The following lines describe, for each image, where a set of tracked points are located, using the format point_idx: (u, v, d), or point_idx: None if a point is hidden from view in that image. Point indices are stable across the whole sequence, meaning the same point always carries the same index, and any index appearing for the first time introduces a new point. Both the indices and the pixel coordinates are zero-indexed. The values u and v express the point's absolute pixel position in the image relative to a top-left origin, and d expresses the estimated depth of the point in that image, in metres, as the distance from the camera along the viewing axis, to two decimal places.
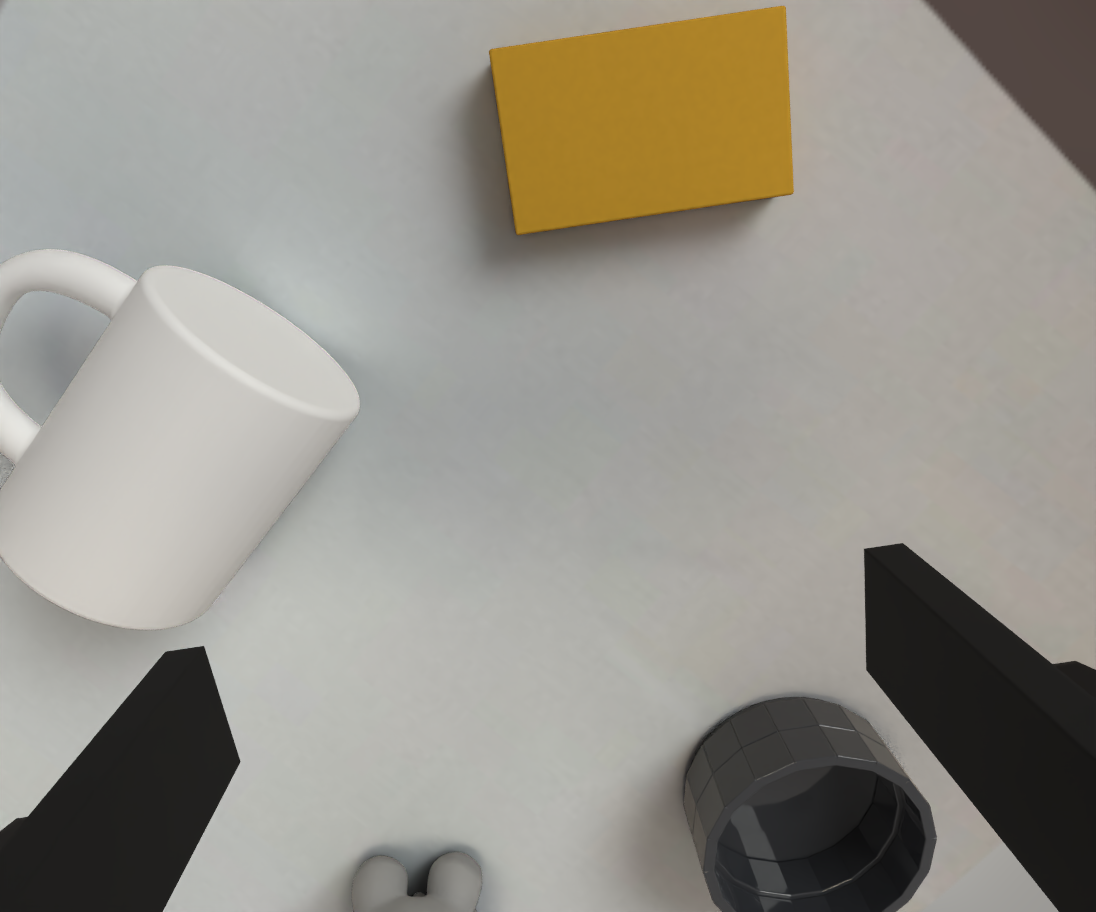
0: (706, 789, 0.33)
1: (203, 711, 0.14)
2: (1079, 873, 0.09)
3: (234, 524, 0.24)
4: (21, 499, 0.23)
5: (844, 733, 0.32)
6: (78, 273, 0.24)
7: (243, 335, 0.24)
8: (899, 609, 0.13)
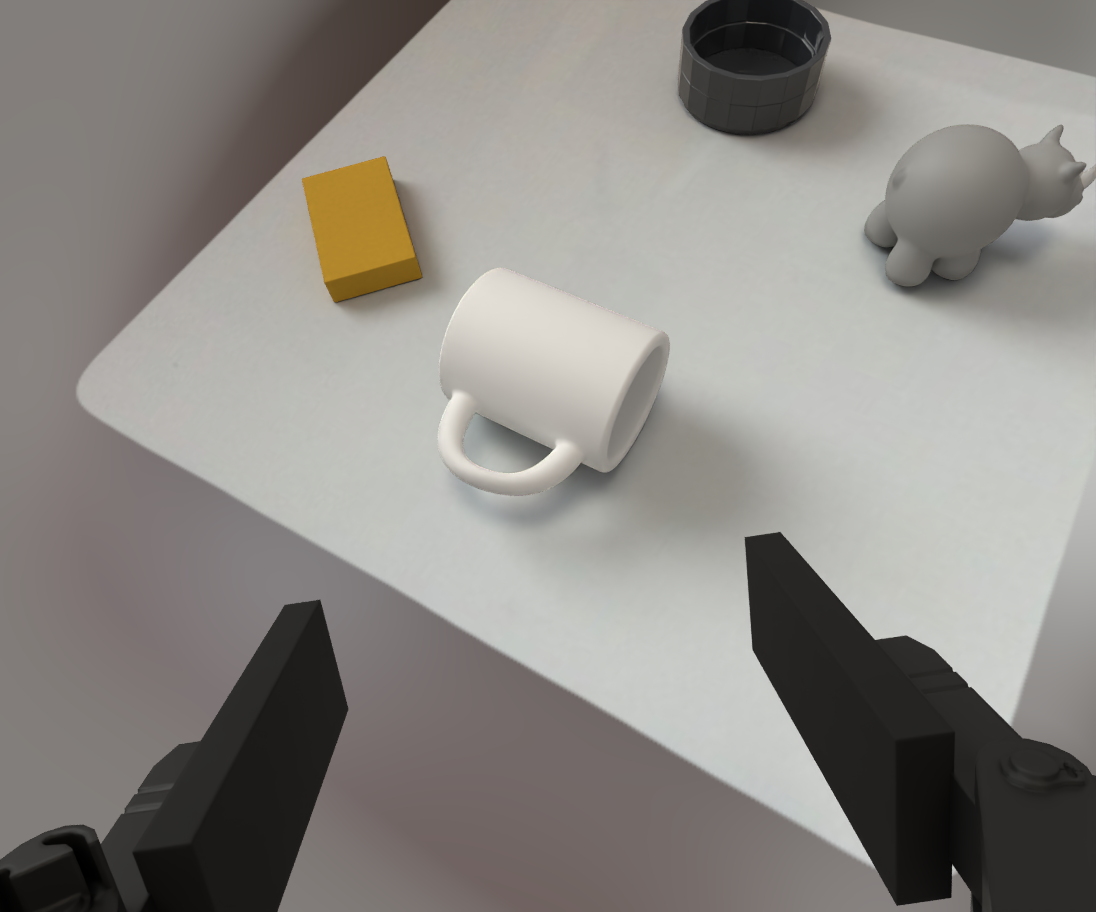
0: (742, 103, 0.51)
1: (322, 658, 0.15)
2: (876, 817, 0.10)
3: (579, 298, 0.39)
4: (578, 393, 0.36)
5: (680, 56, 0.54)
6: (447, 417, 0.39)
7: None
8: (767, 591, 0.14)
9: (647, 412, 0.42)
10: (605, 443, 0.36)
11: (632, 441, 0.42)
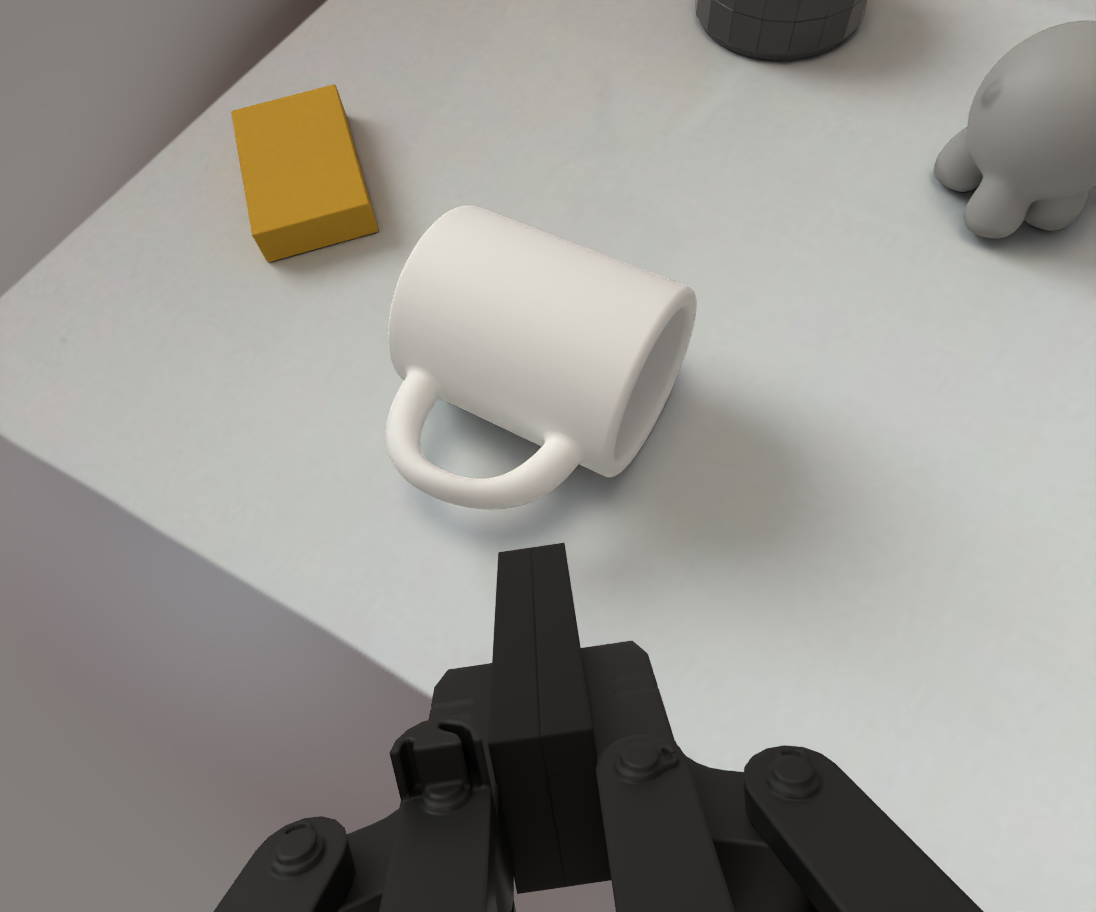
0: (777, 18, 0.41)
1: None
2: None
3: (576, 244, 0.30)
4: (575, 369, 0.26)
5: None
6: (398, 403, 0.29)
7: None
8: None
9: (665, 398, 0.32)
10: (612, 438, 0.27)
11: (645, 436, 0.32)
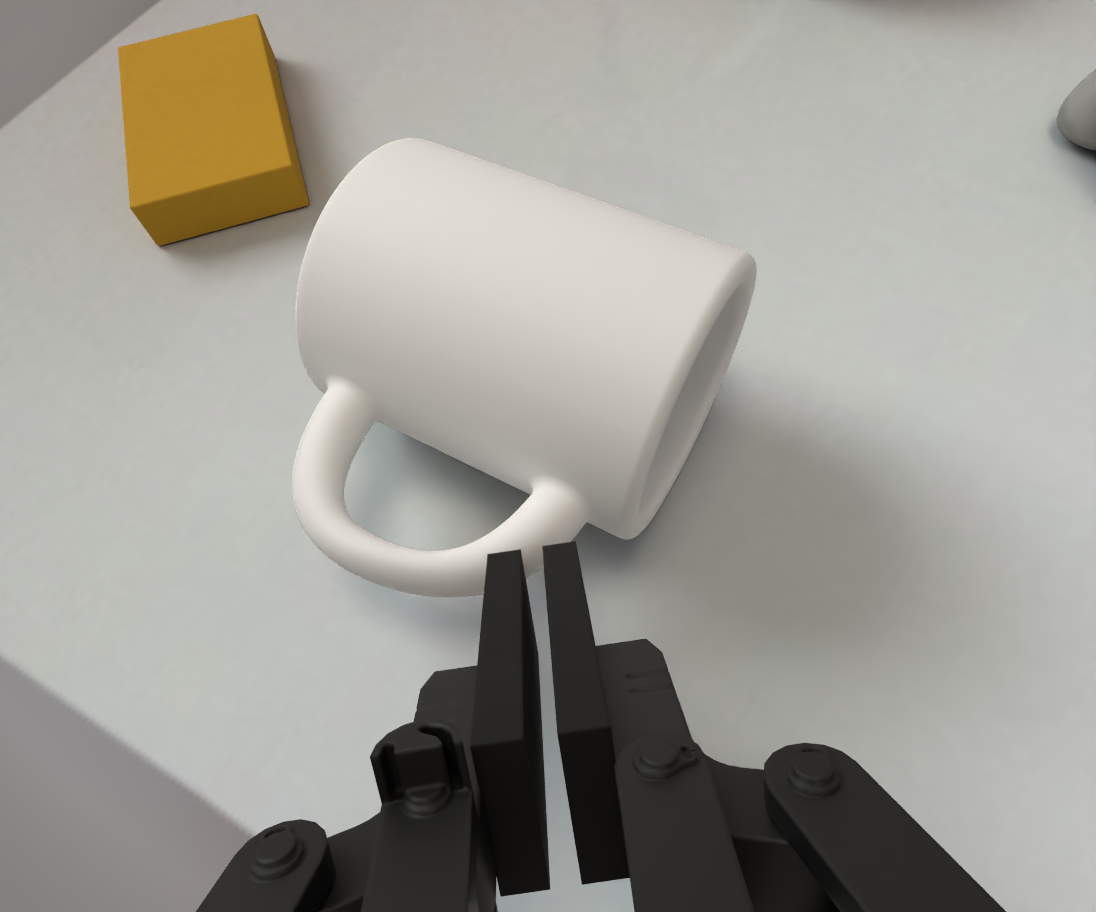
0: None
1: (527, 603, 0.16)
2: None
3: None
4: (579, 381, 0.16)
5: None
6: (310, 432, 0.19)
7: None
8: None
9: (703, 418, 0.23)
10: (638, 488, 0.17)
11: (677, 472, 0.22)
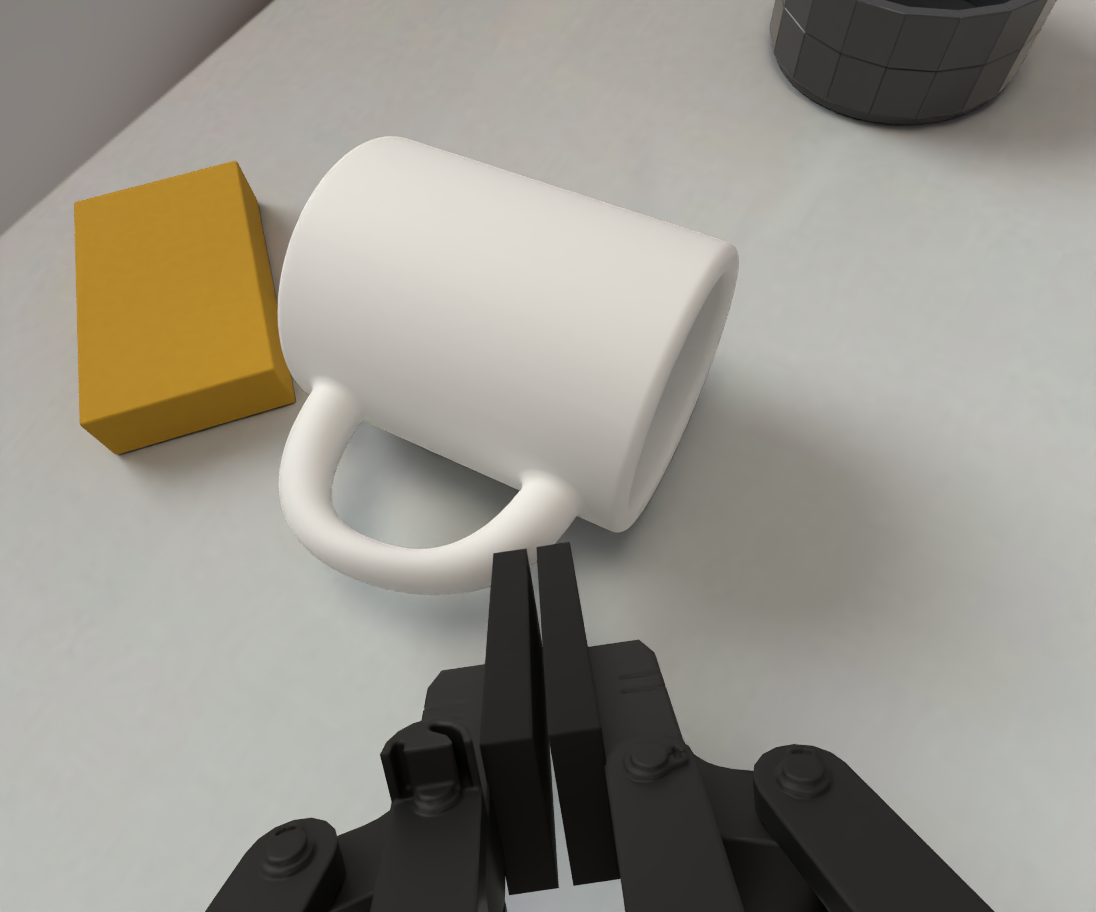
0: (909, 65, 0.27)
1: (533, 602, 0.16)
2: None
3: None
4: (566, 373, 0.16)
5: None
6: (296, 433, 0.19)
7: None
8: None
9: (690, 410, 0.23)
10: (627, 479, 0.17)
11: (665, 465, 0.22)
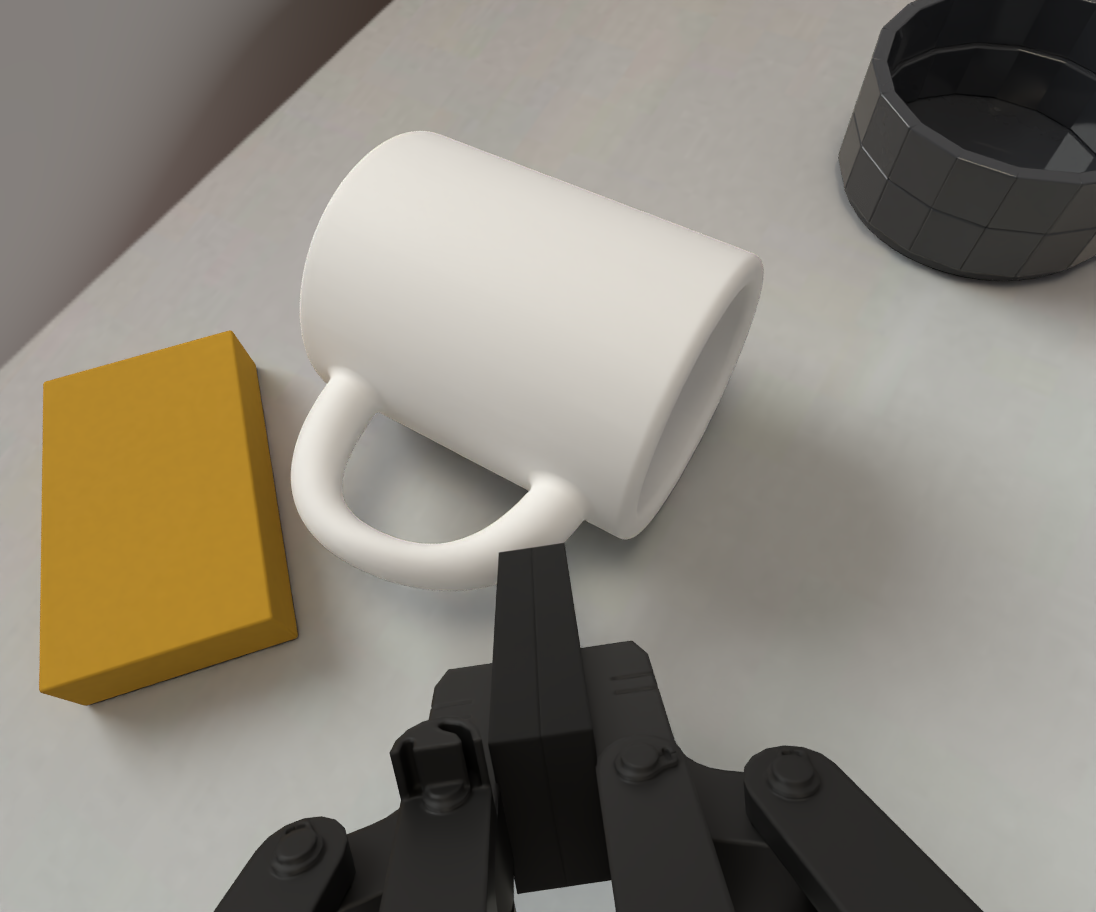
0: (1014, 227, 0.23)
1: None
2: None
3: None
4: (580, 377, 0.16)
5: (859, 116, 0.26)
6: (311, 421, 0.19)
7: None
8: None
9: (707, 420, 0.23)
10: (636, 487, 0.17)
11: (678, 474, 0.22)
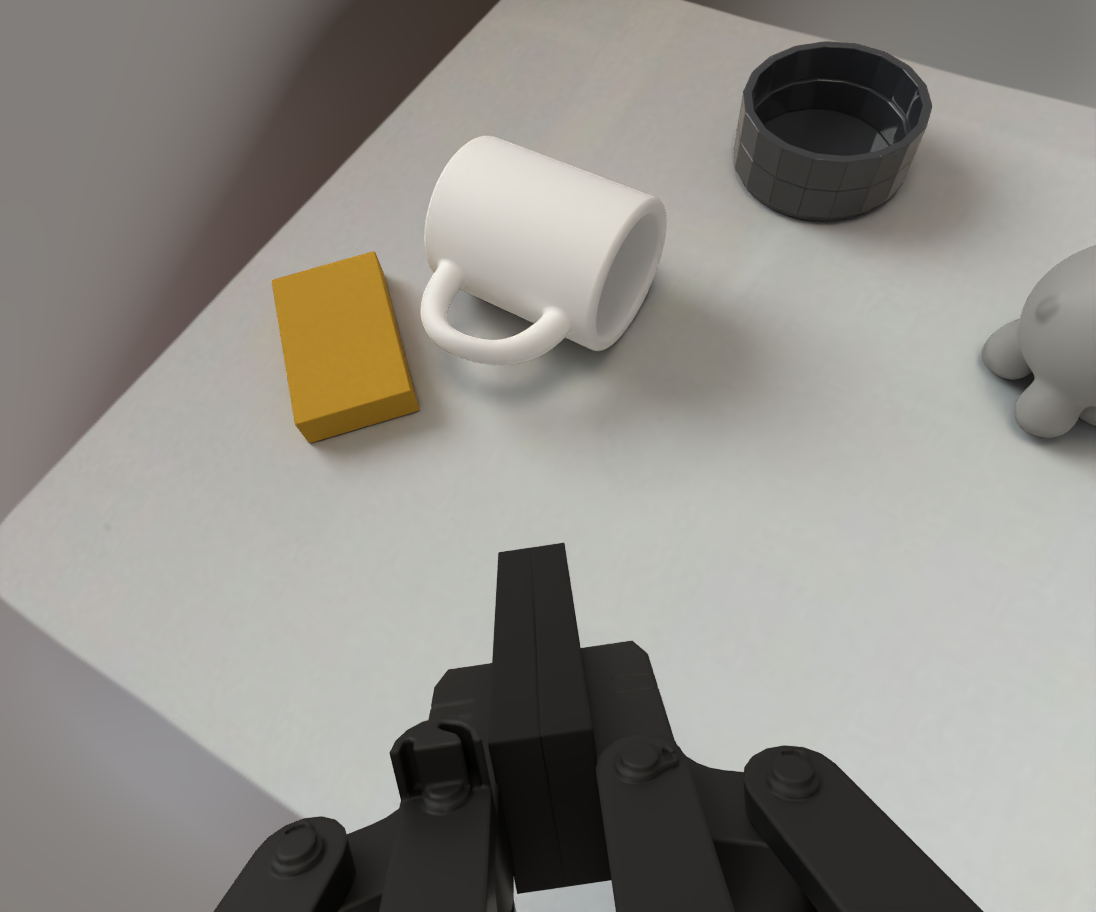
0: (819, 187, 0.41)
1: None
2: None
3: None
4: (566, 253, 0.34)
5: (739, 124, 0.44)
6: (431, 285, 0.37)
7: None
8: None
9: (642, 296, 0.41)
10: (593, 308, 0.35)
11: (625, 325, 0.40)
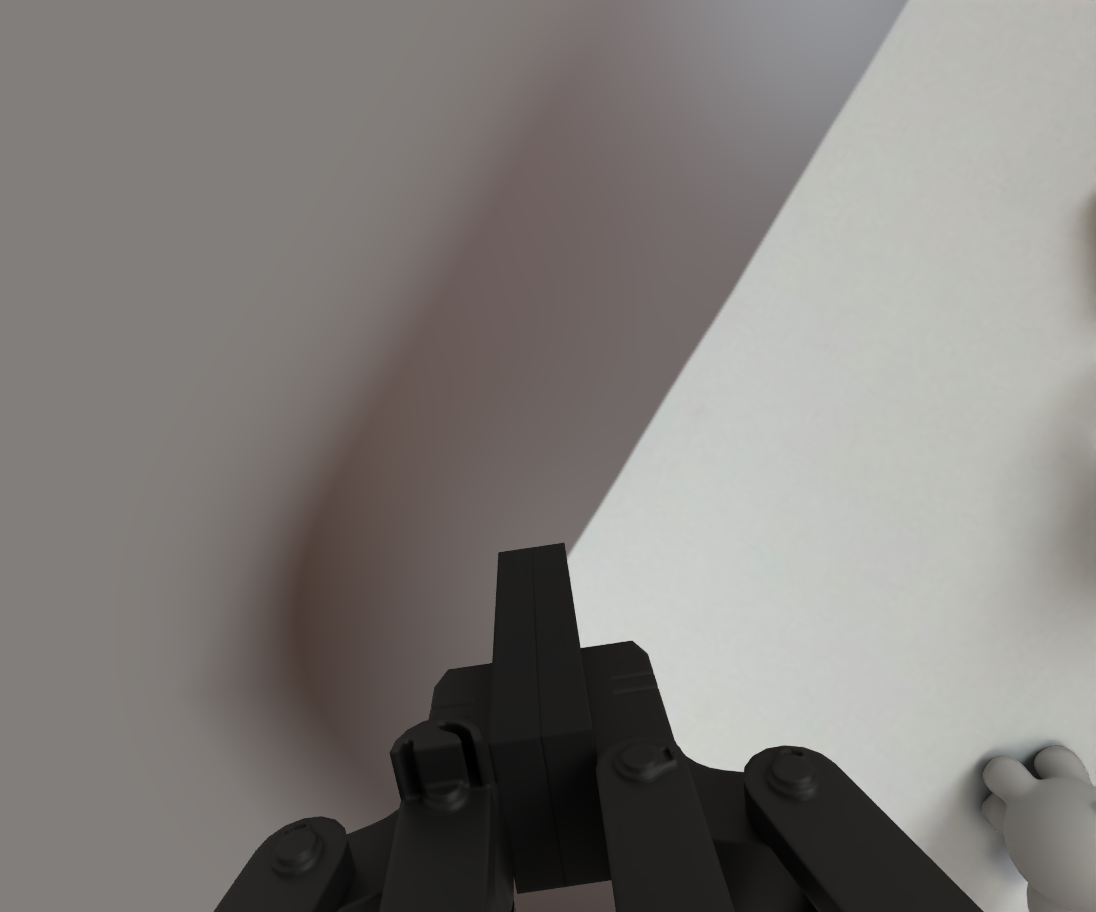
0: None
1: None
2: None
3: None
4: None
5: None
6: None
7: None
8: None
9: None
10: None
11: None
